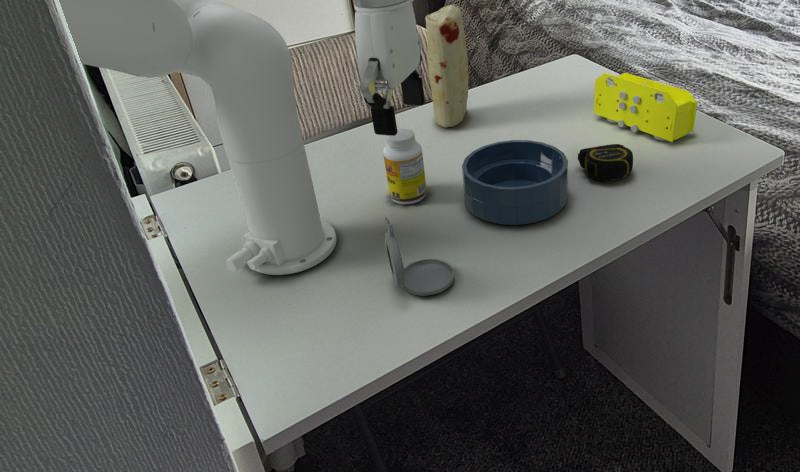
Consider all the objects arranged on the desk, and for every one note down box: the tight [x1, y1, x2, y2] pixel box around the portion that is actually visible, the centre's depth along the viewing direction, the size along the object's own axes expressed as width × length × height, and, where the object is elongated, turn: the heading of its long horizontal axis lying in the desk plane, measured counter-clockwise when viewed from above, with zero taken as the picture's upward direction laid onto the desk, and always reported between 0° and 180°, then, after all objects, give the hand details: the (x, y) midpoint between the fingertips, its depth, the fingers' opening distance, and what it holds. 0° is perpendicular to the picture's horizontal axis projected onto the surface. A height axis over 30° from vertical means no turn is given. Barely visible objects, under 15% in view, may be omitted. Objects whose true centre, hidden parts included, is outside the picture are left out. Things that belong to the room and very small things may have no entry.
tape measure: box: [577, 143, 634, 181], centre depth 95 cm, size 7×7×4 cm
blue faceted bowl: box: [461, 139, 569, 226], centre depth 91 cm, size 14×14×6 cm
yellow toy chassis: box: [593, 72, 698, 143], centre depth 105 cm, size 16×6×8 cm, turn 32°
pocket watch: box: [384, 216, 455, 297], centre depth 77 cm, size 8×8×10 cm
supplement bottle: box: [382, 128, 427, 206], centre depth 94 cm, size 6×6×10 cm
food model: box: [425, 4, 469, 129], centre depth 113 cm, size 10×7×20 cm
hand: (400, 118), depth 91 cm, fingers open, 9 cm apart
